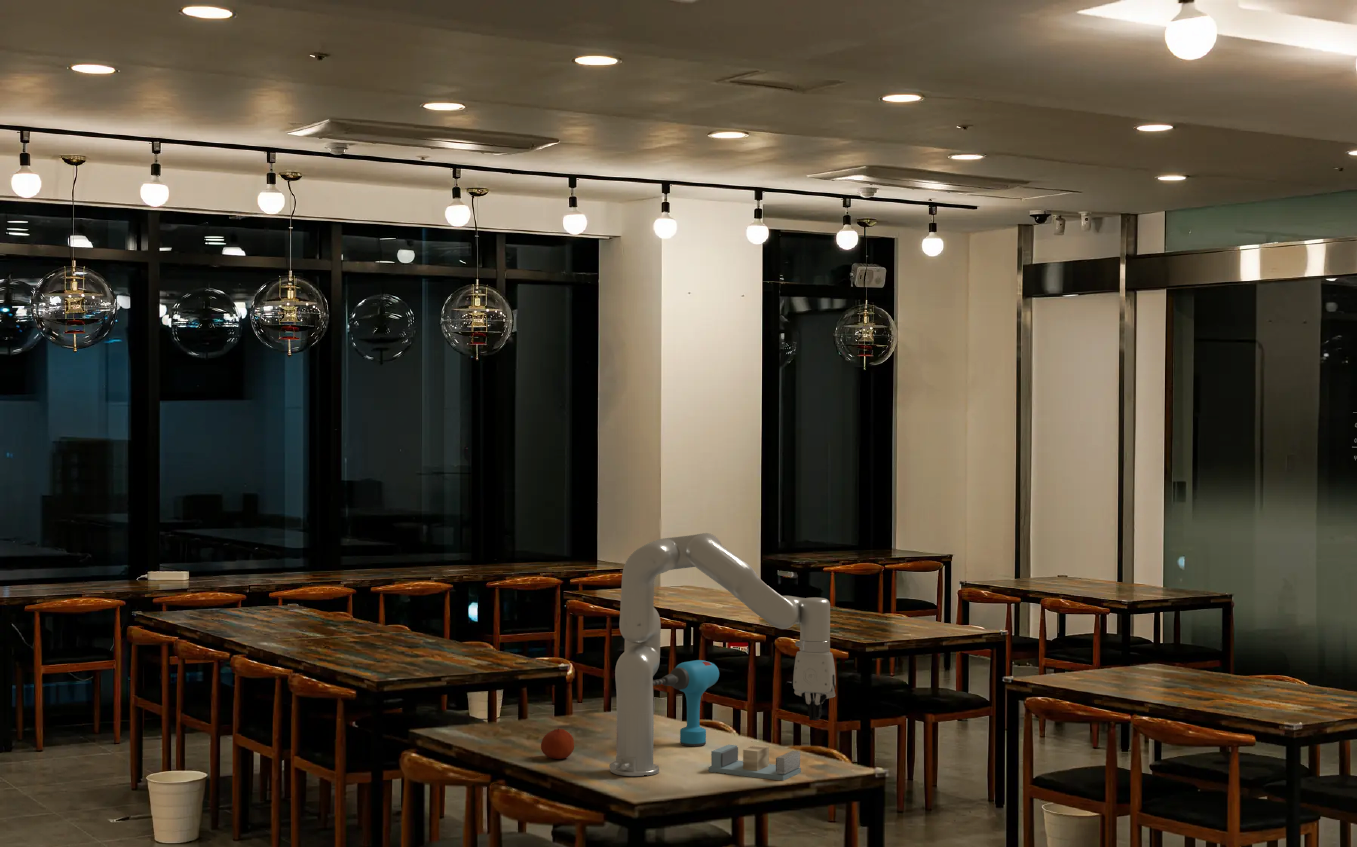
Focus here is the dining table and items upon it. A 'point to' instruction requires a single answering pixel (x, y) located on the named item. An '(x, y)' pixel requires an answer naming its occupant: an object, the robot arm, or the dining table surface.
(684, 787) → the dining table surface
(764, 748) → the block
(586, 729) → the dining table surface
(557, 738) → the fruit
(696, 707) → the power drill
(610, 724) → the dining table surface
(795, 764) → the block
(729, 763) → the vise
